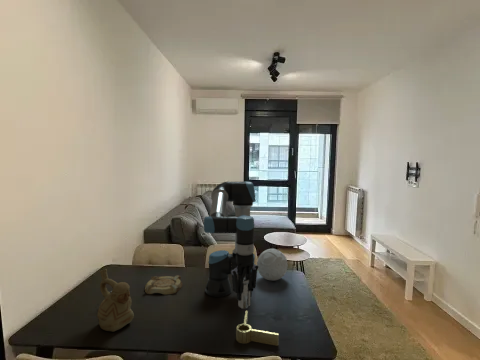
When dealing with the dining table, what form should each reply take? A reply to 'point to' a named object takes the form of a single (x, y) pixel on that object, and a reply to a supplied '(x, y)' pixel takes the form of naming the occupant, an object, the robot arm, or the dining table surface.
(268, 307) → the dining table surface
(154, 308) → the dining table surface
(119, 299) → the ceramic vessel
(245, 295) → the pin
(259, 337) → the hinge
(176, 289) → the ashtray
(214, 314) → the dining table surface
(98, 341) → the dining table surface
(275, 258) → the decorative sphere
